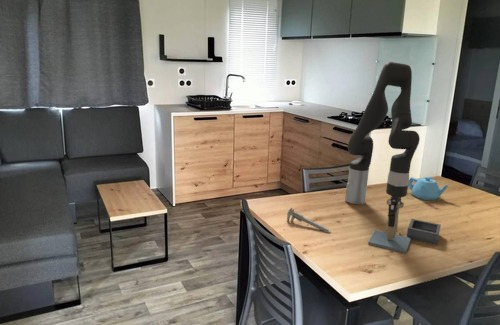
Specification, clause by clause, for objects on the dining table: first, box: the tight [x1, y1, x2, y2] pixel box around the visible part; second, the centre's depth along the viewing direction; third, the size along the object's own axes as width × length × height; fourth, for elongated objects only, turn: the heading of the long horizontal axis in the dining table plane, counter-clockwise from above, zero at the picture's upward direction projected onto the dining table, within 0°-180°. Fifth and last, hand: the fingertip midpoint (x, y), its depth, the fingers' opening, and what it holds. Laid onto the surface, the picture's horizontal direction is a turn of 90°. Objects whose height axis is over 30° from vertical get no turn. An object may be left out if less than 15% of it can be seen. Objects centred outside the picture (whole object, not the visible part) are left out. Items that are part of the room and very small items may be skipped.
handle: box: [385, 198, 405, 239], centre depth 158 cm, size 5×6×15 cm
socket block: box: [406, 218, 442, 246], centre depth 166 cm, size 11×11×4 cm
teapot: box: [408, 176, 449, 201], centre depth 214 cm, size 15×15×11 cm
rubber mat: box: [367, 229, 412, 254], centre depth 160 cm, size 14×13×1 cm
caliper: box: [286, 207, 332, 234], centre depth 171 cm, size 20×1×6 cm, turn 55°
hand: (392, 224), depth 158 cm, fingers closed on handle, 4 cm apart
